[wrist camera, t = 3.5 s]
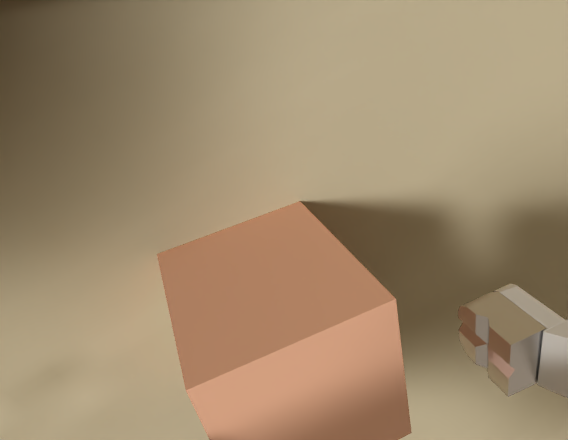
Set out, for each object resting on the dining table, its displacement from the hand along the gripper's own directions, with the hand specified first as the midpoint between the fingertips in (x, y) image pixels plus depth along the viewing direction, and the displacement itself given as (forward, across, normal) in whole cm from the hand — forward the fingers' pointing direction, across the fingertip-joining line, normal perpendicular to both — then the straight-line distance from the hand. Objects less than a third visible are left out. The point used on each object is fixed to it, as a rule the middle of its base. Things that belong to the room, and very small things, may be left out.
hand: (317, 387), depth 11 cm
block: (+6, 0, -1) cm, 6 cm away
